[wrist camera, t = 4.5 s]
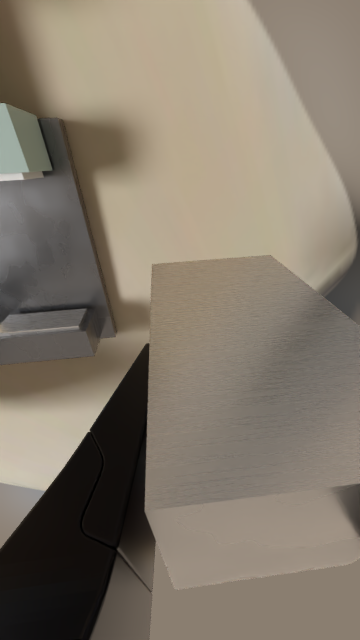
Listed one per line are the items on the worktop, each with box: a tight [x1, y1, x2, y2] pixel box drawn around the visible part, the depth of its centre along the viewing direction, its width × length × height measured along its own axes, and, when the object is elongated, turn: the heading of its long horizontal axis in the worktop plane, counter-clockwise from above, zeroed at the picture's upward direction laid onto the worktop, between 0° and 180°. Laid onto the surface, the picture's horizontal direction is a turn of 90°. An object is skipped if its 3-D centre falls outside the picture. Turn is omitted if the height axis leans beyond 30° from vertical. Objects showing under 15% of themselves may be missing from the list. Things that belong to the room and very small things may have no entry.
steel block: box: [145, 255, 360, 590], centre depth 6 cm, size 5×4×6 cm
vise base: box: [0, 118, 117, 365], centre depth 15 cm, size 15×9×4 cm, turn 3°
